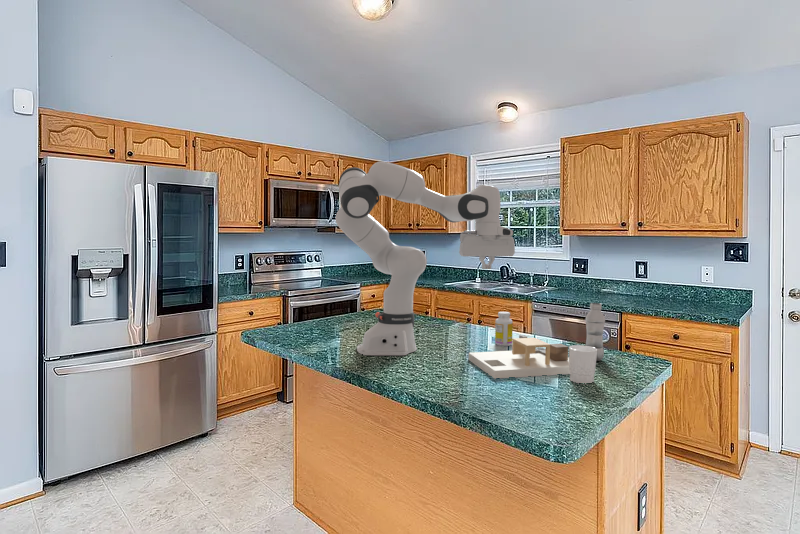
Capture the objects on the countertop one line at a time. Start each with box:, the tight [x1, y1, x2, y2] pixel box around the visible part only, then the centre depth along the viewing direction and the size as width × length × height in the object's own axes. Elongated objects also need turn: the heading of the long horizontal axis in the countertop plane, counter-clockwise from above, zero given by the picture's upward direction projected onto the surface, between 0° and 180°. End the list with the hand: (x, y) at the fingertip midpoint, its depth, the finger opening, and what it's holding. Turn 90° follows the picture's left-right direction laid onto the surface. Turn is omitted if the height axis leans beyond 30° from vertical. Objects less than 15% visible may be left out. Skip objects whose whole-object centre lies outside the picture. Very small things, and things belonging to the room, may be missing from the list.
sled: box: [518, 334, 569, 361], centre depth 162 cm, size 10×15×6 cm
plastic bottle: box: [585, 302, 606, 362], centre depth 166 cm, size 6×7×20 cm
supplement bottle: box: [494, 311, 514, 347], centre depth 189 cm, size 7×7×13 cm
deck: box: [468, 337, 570, 380], centre depth 158 cm, size 31×22×9 cm
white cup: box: [568, 344, 597, 385], centre depth 143 cm, size 8×8×10 cm
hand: (486, 269), depth 173 cm, fingers closed
